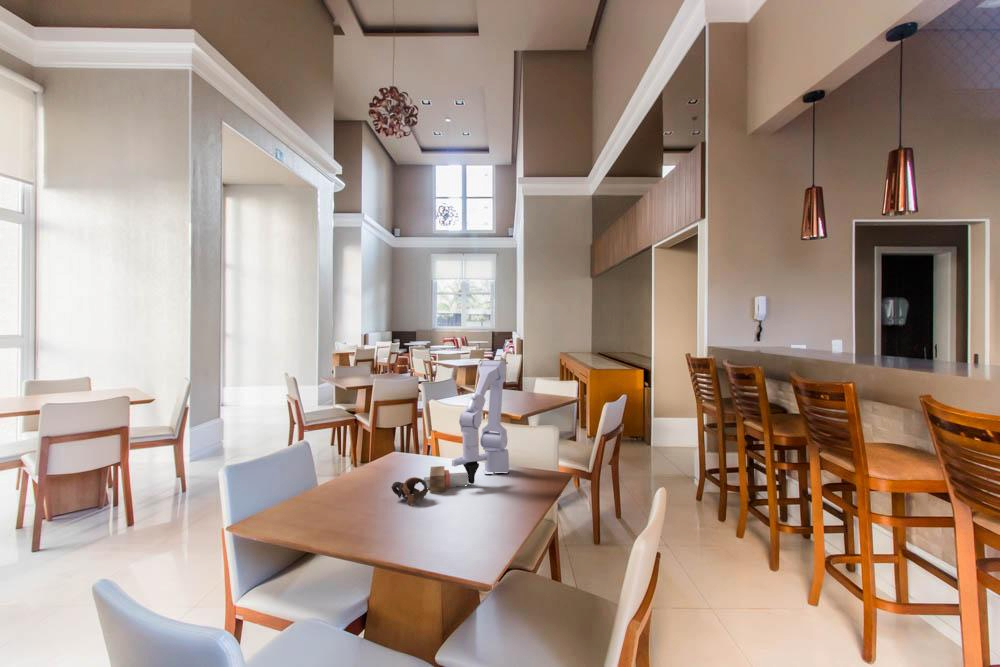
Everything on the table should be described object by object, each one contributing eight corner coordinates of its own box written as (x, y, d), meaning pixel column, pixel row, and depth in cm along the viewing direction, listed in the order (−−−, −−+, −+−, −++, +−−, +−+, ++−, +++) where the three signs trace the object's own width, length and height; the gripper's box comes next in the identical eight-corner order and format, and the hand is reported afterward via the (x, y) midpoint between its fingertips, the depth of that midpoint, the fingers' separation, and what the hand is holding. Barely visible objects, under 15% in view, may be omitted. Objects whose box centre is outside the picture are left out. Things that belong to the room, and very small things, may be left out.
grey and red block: (466, 482, 175) (466, 468, 175) (468, 487, 169) (468, 473, 169) (423, 485, 172) (423, 471, 172) (424, 490, 166) (424, 475, 166)
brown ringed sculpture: (427, 495, 162) (431, 477, 159) (421, 517, 154) (426, 498, 150) (392, 487, 162) (396, 469, 158) (385, 508, 153) (388, 490, 150)
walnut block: (444, 481, 176) (444, 466, 176) (444, 492, 164) (444, 475, 164) (430, 482, 175) (430, 466, 175) (430, 493, 163) (429, 476, 163)
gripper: (481, 440, 178) (482, 476, 178) (447, 445, 170) (448, 483, 170) (492, 443, 173) (492, 481, 172) (457, 449, 164) (457, 489, 164)
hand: (471, 483), depth 171 cm, fingers closed
